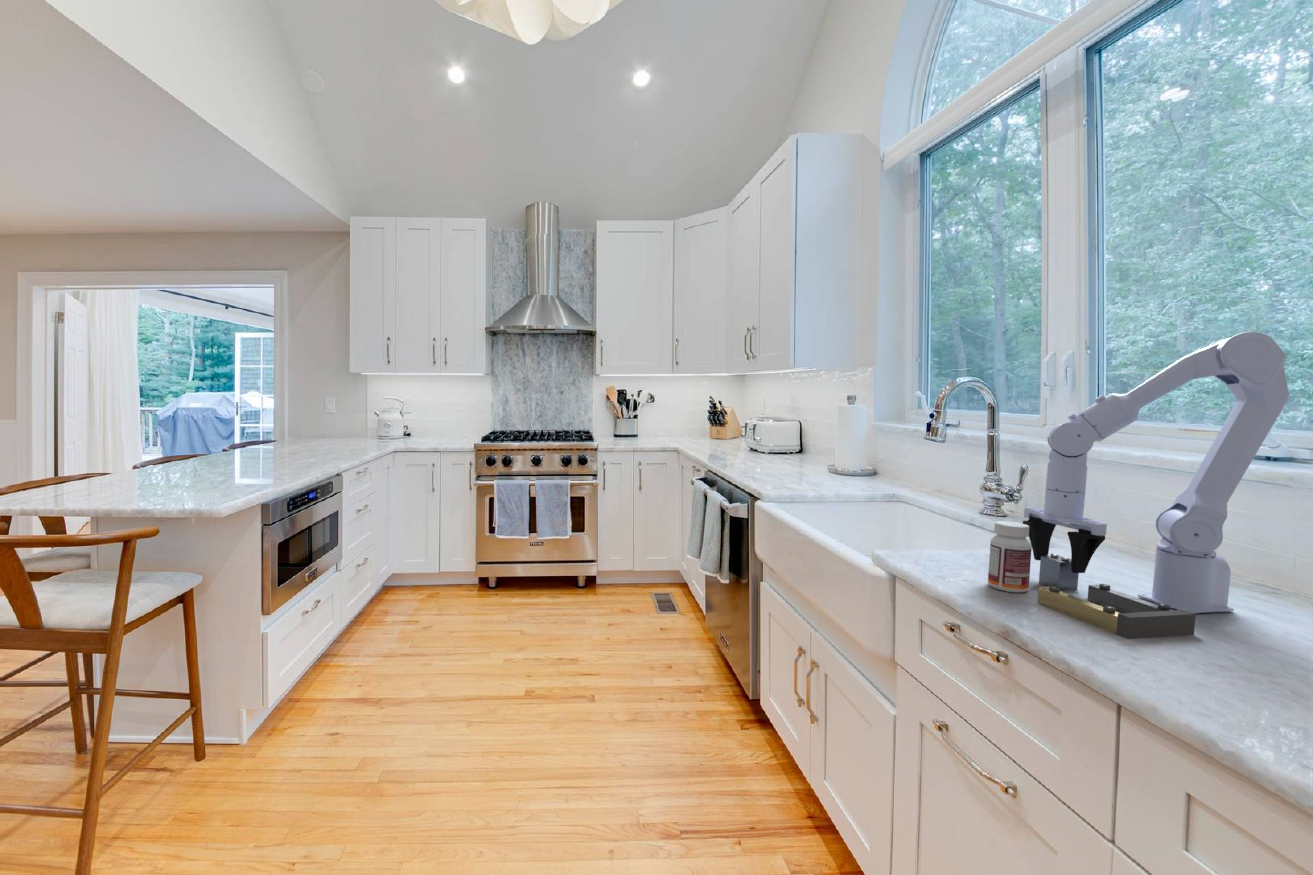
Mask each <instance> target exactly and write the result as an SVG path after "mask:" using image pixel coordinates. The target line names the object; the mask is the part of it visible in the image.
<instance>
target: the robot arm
mask: <svg viewBox="0 0 1313 875" xmlns="http://www.w3.org/2000/svg"><path fill="white" fill-rule="evenodd" d="M1286 356H1287V354H1286V353H1285V352H1284V350H1283V349H1282V348H1281V347H1280V346H1279V344H1278V343H1277V342H1276V341H1275V340H1274V339H1273V338H1272V337H1271V336H1269V335H1267V334H1265V333H1263V332H1257V331H1247V332H1241V333H1237V334H1234V335H1233V336H1232V337H1226V338H1222V339H1218V340H1215V341H1213V342H1212V343H1210V344H1209V345H1207V346H1206V347H1202V348H1199V349H1198V350H1195V351H1193V352H1192V353H1189V354H1187V355H1184V356H1183V357H1181V358H1179V359H1177V360H1176V361H1174V362H1173V363H1172V364H1170V365H1168V366H1167V367H1165V368H1164V369H1162V370H1161V371H1159V372H1158V373H1156V374H1154V375H1152V376H1151V377H1150V378H1148V379H1147V380H1145V381H1144V382H1142V383H1141V384H1139V385H1138V386H1136V387H1135V388H1133V389H1131V390H1130V391H1128V392H1127V393H1125V394H1124V393H1109V394H1108V395H1106V396H1105V395H1102V394H1101V395H1099V396H1098V397H1096V398H1094V401H1095V403H1093V404H1091V405H1090V406H1089V407H1087V408H1085V409H1083V410H1082V411H1080V412H1079V413H1076V414H1075V413H1072V414H1070V415H1069V416H1067V418H1068V419H1069V422H1064V423H1063V422H1062V423H1060V424H1057V425H1055V426H1054V427H1053V428H1052V429H1051V431H1050V432H1049V435H1048V437H1047V443H1048V446H1049V447H1050V448H1051V449H1050V451H1049V454H1048V460H1049V462H1048V463H1047V469H1046V482H1045V483H1046V484H1045V495H1044V507H1043V508H1039V507H1034V506H1033V507H1032V506H1031V507H1030V506H1029V507H1027V506H1025V507H1024V512H1023V517H1024V518H1026V519H1027V520H1022V524H1026V525H1028V526H1029V536H1028V538H1029V541H1030V543H1031V545H1032V554H1033V558H1034V561H1041V556H1049V551H1050V543H1051V540H1052V536H1053V534H1054V531H1055V529H1056V526H1057V525H1058V526H1060V527H1064V528H1068V529H1069V528H1070V529H1074V530H1075V531H1067V536H1068V541H1069V543H1070V544H1069V545H1070V550H1071V552H1070V553H1071V558H1070V559H1071V570H1072V572H1074V573H1079V574H1085V573H1086V570H1087V567H1088V566H1089V563H1090V561H1091V559H1092V557H1093V555H1094V554H1095V552H1096V550H1098V548H1099V547H1100V546H1101V545H1102V544H1103V543H1104V541H1105V540H1106V535H1107V526H1108V524H1107V523H1104V522H1100V521H1097V520H1094V519H1092V518H1088V517H1085V516H1084V512H1085V498H1086V489H1087V488H1086V487H1087V476H1088V465H1087V461H1088V460H1087V459H1088V453H1089V452H1090V451H1091V449H1092V448H1093V446H1094V443H1095V442H1099V443H1100V442H1102V441H1103V440H1105V439H1106V438H1108V437H1111V436H1113V434H1116V433H1117V432H1119V431H1120V430H1122V429H1124V428H1125V427H1127V426H1129V425H1131V424H1133V423H1134V422H1136V421H1137V420H1138V417H1139V413H1140V410H1141V409H1142V408H1143V407H1145V406H1147V405H1149V404H1151V403H1153V402H1154V401H1156V400H1157V399H1159V398H1161V397H1163V396H1165V395H1167V394H1168V393H1170V392H1172V391H1175V390H1176V389H1178V388H1180V387H1182V386H1183V385H1185V384H1187V383H1188V382H1190V381H1192V380H1196V379H1202V378H1208V377H1215V378H1217V379H1218V380H1220V381H1221V382H1223V383H1225V385H1226V386H1227V388H1228V389H1229V390H1230V393H1232V395H1233V396H1234V398H1235V399H1236V402H1235V404H1234V405H1233V407H1232V409H1231V410H1230V412H1229V414H1228V416H1227V418H1226V420H1225V421H1224V423H1223V425H1222V427H1221V428H1220V430H1219V432H1218V433H1217V435H1216V437H1215V439H1214V441H1213V443H1212V444H1211V445H1210V447H1209V449H1208V451H1207V453H1206V454H1205V457H1204V458H1203V460H1202V462H1201V464H1199V467H1198V469H1197V470H1196V472H1195V474H1194V475H1193V477H1192V479H1191V481H1190V483H1189V484H1188V487H1187V488H1186V489H1185V490H1184V491H1183V492H1181V494H1179V495H1178V496H1177V497H1176V498H1175V500H1174V501H1173V503H1172V504H1171V505H1170V506H1169V507H1168V508H1166V509H1164V510H1163V511H1161V512H1160V513H1159V514H1158V516H1156V520H1155V529H1156V532H1157V533H1158V534H1159V535H1160V537H1161V539H1160V541H1159V542H1157V544H1156V545H1155V546H1156V547H1155V557H1154V558H1155V559H1154V569H1153V570H1154V571H1153V578H1152V579H1153V580H1152V581H1153V582H1152V592H1151V593H1138V594H1137V598H1139V599H1142V600H1145V601H1148V602H1151V603H1154V604H1158V603H1164V604H1168V605H1170V609H1172V610H1185V611H1188V612H1191V613H1194V614H1205V613H1222V612H1223V613H1224V612H1234V610H1235V608H1234V607H1230V606H1228V605H1229V604H1228V603H1229V594H1230V593H1229V592H1230V583H1231V582H1230V581H1231V575H1232V574H1231V567H1230V565H1229V563H1228V562H1227V561H1226V559H1225V558H1224V557H1222V556H1221V555H1220V554H1218V553H1217V549H1218V548H1219V547H1220V546H1221V545H1222V542H1223V539H1224V534H1223V528H1224V527H1223V525H1224V524H1225V522H1226V520H1227V518H1228V502H1229V501H1230V499H1231V497H1232V496H1233V494H1234V492H1235V490H1236V489H1237V487H1238V485H1239V484H1240V481H1241V480H1242V478H1244V475H1245V473H1246V472H1247V470H1248V468H1249V467H1250V465H1251V464H1252V461H1253V459H1254V458H1255V457H1256V455H1257V453H1258V451H1259V450H1260V448H1261V447H1262V444H1263V443H1264V441H1265V439H1266V438H1267V436H1268V434H1269V433H1270V431H1271V429H1272V428H1273V426H1274V424H1275V422H1276V421H1277V419H1278V418H1279V417H1280V414H1281V413H1282V411H1283V409H1284V407H1285V405H1286V404H1287V402H1288V399H1289V397H1290V393H1289V387H1288V382H1287V376H1286V370H1285V361H1286V358H1287V357H1286ZM1076 530H1077V531H1076ZM1215 550H1216V551H1215Z"/></svg>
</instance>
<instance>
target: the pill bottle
mask: <svg viewBox="0 0 1313 875" xmlns="http://www.w3.org/2000/svg"><path fill="white" fill-rule="evenodd" d="M993 527H994V528H993V533H995V535H994V536H992V537H991V539H990V542H989V546H990V547H989V561H988V572H987V573H988V575H987V584H988V585H989V586H990V587H992V588H994V589H997V590H999V591H1004V592H1008V593H1025V592H1028V591H1029V589H1030V588H1029V587H1030V574H1031V560H1032V551H1033V549H1032V545H1031V541H1030V539H1027V538H1029V526H1028V525H1026V524H1023V522H1022V523H1021V522H1015V521H1007V520H1006V521H1005V520H998V521H995V522H994V526H993Z"/></svg>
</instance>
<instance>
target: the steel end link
mask: <svg viewBox="0 0 1313 875" xmlns="http://www.w3.org/2000/svg"><path fill="white" fill-rule="evenodd" d="M1086 599H1087V600H1086V601H1088V602H1091V603H1094V604H1097V605H1099V606H1102V607H1103V606H1111V607H1114V608H1116V610H1115V611H1116V612H1118V613H1136V612H1155V611H1174V610H1175V609H1173V608H1170V605H1168V604H1164V603H1155V602H1152V601H1149V600H1146V599H1143V598H1140V597H1136V596H1132V595H1130V594H1127V593H1123V592H1122V591H1121V592H1120V591H1117V590H1115V589H1111V585H1110V584H1105V583H1099V584H1088V588H1087V598H1086Z"/></svg>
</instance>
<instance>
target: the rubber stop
mask: <svg viewBox="0 0 1313 875" xmlns="http://www.w3.org/2000/svg"><path fill="white" fill-rule="evenodd" d="M1173 610H1174V611H1155V612H1136V613H1122V612H1118V619H1117V631H1116V634H1115V635H1117V636H1120V637H1122V638H1123V639H1127V640H1133V639H1146V638H1147V639H1148V638H1161V637H1163V638H1164V637H1179V636H1180V637H1181V636H1193V635H1195V627H1196V626H1195V625H1196V619H1197V618H1196V616H1197V613H1191V612H1188V611H1185V610H1176V609H1173Z"/></svg>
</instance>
